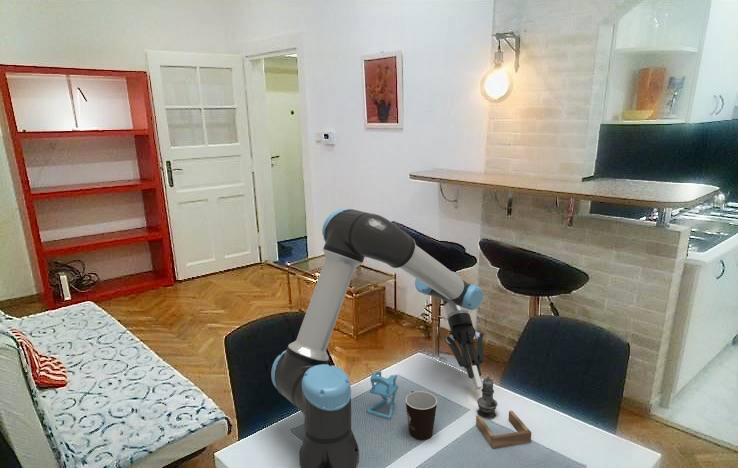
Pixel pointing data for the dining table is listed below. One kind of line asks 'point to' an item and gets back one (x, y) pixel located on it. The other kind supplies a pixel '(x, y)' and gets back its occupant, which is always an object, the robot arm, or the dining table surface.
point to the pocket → (505, 439)
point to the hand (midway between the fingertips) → (478, 387)
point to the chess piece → (487, 400)
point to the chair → (383, 392)
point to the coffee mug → (421, 414)
